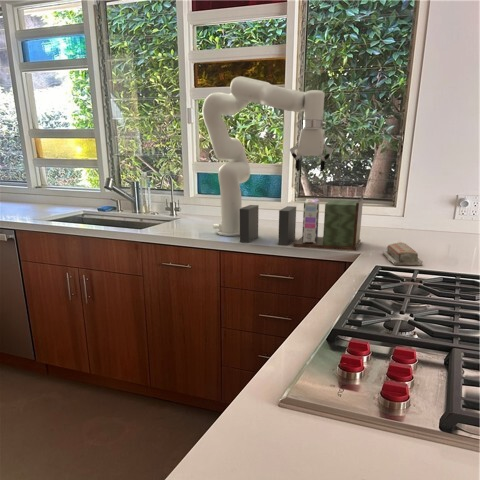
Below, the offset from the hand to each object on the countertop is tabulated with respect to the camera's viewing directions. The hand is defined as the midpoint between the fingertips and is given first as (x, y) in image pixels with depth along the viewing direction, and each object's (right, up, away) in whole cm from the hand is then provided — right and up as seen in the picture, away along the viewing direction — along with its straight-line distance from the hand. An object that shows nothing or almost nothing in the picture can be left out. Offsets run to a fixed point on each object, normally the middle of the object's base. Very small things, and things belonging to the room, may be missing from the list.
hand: (309, 170), depth 188 cm
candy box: (+1, -27, +7) cm, 28 cm away
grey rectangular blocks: (-16, -26, +13) cm, 33 cm away
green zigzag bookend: (+8, -29, +5) cm, 31 cm away
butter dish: (+30, -39, -21) cm, 54 cm away
